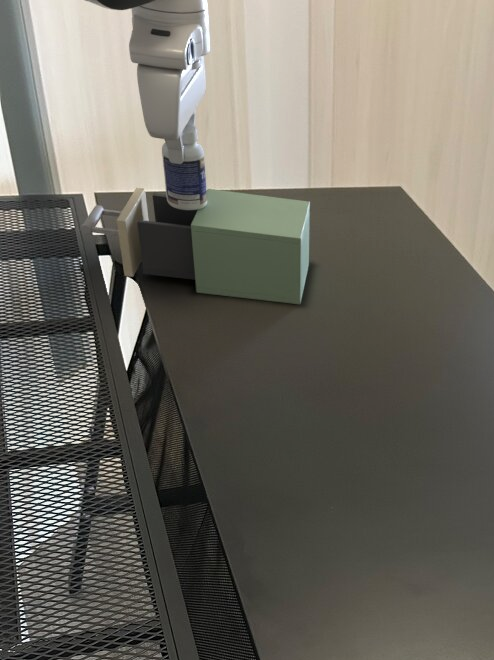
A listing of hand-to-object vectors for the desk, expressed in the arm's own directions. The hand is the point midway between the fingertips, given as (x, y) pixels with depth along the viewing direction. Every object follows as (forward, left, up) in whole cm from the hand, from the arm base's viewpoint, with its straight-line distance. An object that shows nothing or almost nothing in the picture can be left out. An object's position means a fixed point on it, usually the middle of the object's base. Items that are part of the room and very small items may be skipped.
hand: (182, 152), depth 113 cm
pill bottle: (0, 0, -7) cm, 7 cm away
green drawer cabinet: (+9, 0, -16) cm, 19 cm away
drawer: (-4, 0, -15) cm, 16 cm away
